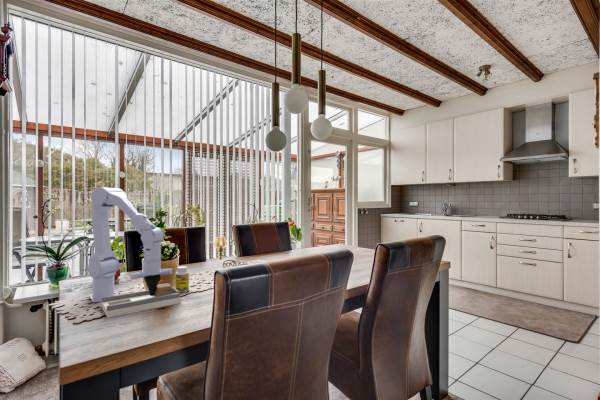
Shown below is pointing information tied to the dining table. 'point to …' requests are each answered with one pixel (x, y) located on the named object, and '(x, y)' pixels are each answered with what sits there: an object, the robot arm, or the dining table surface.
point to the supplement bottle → (182, 279)
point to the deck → (137, 302)
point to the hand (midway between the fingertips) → (151, 295)
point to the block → (163, 289)
